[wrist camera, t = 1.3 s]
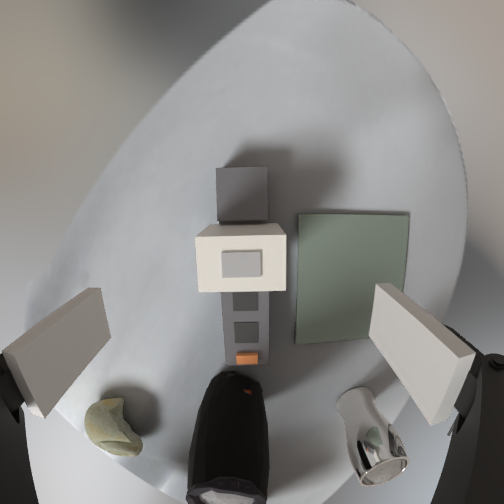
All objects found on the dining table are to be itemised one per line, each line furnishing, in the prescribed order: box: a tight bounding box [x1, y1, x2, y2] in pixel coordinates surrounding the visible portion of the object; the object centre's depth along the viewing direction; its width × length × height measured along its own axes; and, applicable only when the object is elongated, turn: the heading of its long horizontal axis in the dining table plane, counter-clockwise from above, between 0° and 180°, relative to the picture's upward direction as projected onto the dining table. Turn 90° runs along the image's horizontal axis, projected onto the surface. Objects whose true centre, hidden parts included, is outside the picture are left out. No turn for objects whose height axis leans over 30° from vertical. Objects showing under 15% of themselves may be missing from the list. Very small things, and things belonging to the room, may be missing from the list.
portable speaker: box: [186, 371, 269, 504], centre depth 27 cm, size 8×9×19 cm
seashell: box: [85, 397, 143, 457], centre depth 35 cm, size 13×8×10 cm
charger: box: [195, 223, 286, 292], centre depth 26 cm, size 4×7×8 cm, turn 91°
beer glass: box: [336, 387, 410, 487], centre depth 30 cm, size 7×7×15 cm
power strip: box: [216, 167, 269, 366], centre depth 31 cm, size 22×5×4 cm, turn 1°
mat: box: [295, 214, 409, 344], centre depth 33 cm, size 16×14×1 cm
